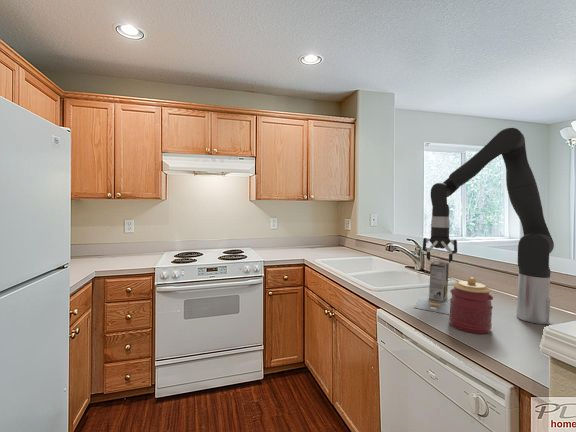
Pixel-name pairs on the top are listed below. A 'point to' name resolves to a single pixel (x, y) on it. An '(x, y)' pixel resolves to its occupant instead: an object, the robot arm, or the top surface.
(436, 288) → the coffee box
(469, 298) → the canister
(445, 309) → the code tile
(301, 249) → the top surface
